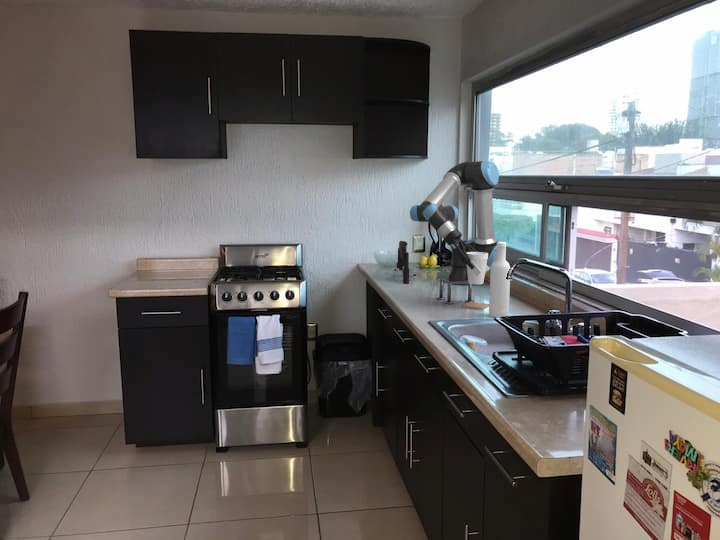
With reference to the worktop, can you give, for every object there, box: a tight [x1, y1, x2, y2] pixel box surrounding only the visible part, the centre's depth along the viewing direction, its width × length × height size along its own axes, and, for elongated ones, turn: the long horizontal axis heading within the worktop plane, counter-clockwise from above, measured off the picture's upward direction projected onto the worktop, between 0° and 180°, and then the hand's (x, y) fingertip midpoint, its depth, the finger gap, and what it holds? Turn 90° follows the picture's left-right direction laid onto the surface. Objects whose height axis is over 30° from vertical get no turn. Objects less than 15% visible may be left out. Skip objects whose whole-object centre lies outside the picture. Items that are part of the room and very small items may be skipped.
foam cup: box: [467, 252, 488, 285], centre depth 250 cm, size 10×9×13 cm
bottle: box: [488, 241, 511, 319], centre depth 234 cm, size 8×8×30 cm
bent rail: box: [436, 278, 475, 305], centre depth 263 cm, size 11×18×10 cm, turn 58°
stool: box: [387, 240, 418, 285], centre depth 321 cm, size 16×21×33 cm
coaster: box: [461, 301, 489, 311], centre depth 253 cm, size 9×9×1 cm
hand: (483, 272), depth 249 cm, fingers closed on foam cup, 9 cm apart
